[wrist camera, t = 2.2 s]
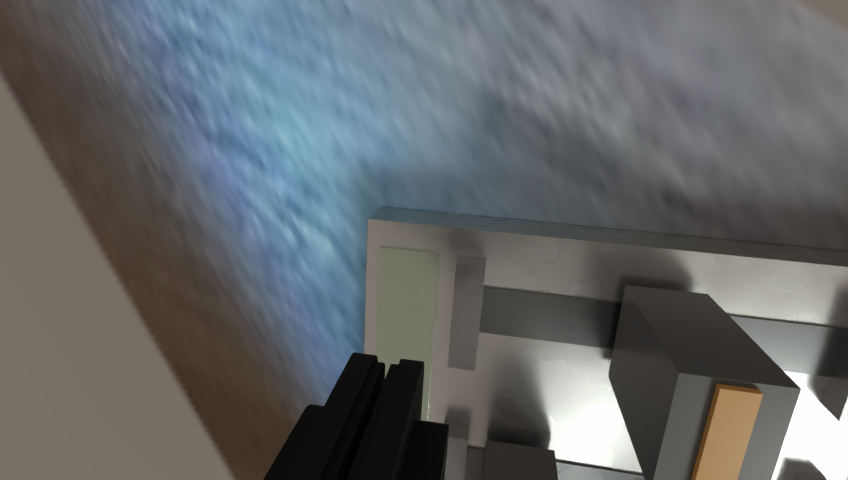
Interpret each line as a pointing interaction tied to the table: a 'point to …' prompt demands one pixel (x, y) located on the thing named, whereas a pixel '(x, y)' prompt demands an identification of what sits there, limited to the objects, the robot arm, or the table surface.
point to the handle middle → (518, 462)
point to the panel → (588, 331)
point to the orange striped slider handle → (697, 389)
